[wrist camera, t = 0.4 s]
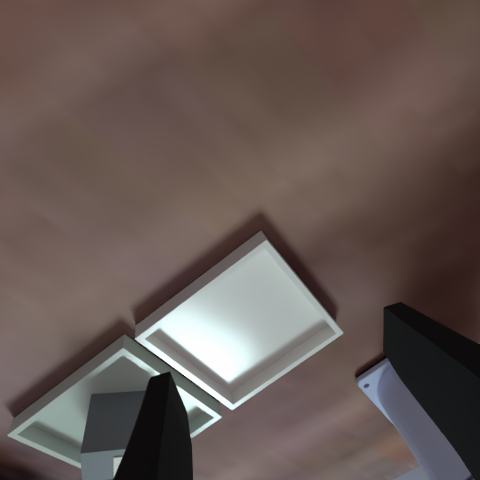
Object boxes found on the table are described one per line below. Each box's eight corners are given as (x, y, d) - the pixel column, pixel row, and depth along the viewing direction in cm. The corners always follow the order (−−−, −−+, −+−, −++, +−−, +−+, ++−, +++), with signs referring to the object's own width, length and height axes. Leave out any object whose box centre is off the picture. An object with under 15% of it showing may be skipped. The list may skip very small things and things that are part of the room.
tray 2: (335, 321, 25) (343, 333, 24) (229, 396, 26) (232, 410, 25) (260, 230, 21) (266, 239, 20) (135, 325, 22) (134, 339, 21)
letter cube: (154, 390, 24) (154, 447, 21) (151, 429, 26) (151, 488, 22) (91, 393, 23) (80, 454, 20) (93, 434, 25) (82, 497, 21)
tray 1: (219, 402, 26) (222, 417, 25) (122, 470, 28) (121, 486, 27) (124, 333, 22) (123, 347, 21) (13, 418, 23) (6, 435, 22)
